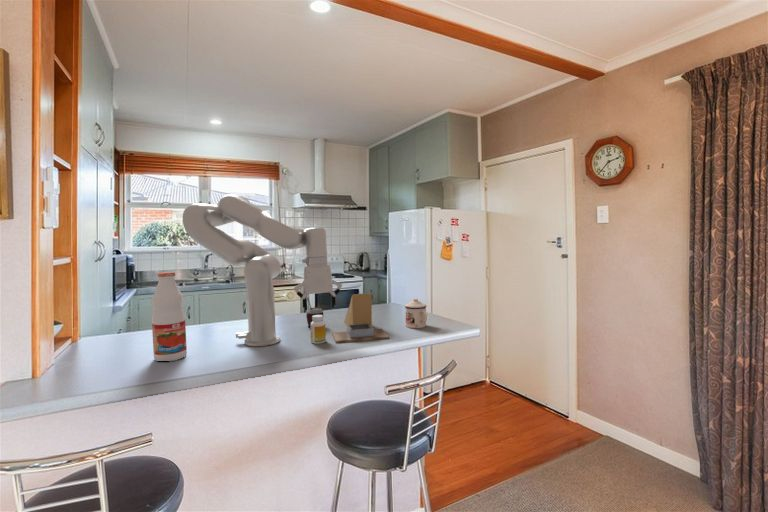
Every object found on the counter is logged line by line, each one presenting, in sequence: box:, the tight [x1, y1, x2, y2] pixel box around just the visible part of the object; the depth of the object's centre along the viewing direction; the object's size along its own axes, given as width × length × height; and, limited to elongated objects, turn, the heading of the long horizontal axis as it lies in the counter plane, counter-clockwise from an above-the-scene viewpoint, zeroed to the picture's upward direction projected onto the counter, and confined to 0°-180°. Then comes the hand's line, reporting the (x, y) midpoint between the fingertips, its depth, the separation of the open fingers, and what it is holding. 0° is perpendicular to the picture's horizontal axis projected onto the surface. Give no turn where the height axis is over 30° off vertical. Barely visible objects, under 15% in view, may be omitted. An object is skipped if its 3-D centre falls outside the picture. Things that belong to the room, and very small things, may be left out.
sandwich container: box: [343, 292, 373, 327], centre depth 163 cm, size 9×15×15 cm, turn 20°
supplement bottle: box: [310, 314, 327, 345], centre depth 139 cm, size 5×5×10 cm
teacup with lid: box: [404, 298, 428, 329], centre depth 158 cm, size 12×9×12 cm
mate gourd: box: [306, 295, 324, 329], centre depth 160 cm, size 8×8×15 cm
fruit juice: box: [150, 271, 188, 362], centre depth 123 cm, size 9×9×28 cm
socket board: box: [331, 323, 390, 344], centre depth 145 cm, size 20×12×4 cm, turn 104°
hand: (319, 308), depth 138 cm, fingers open, 9 cm apart
